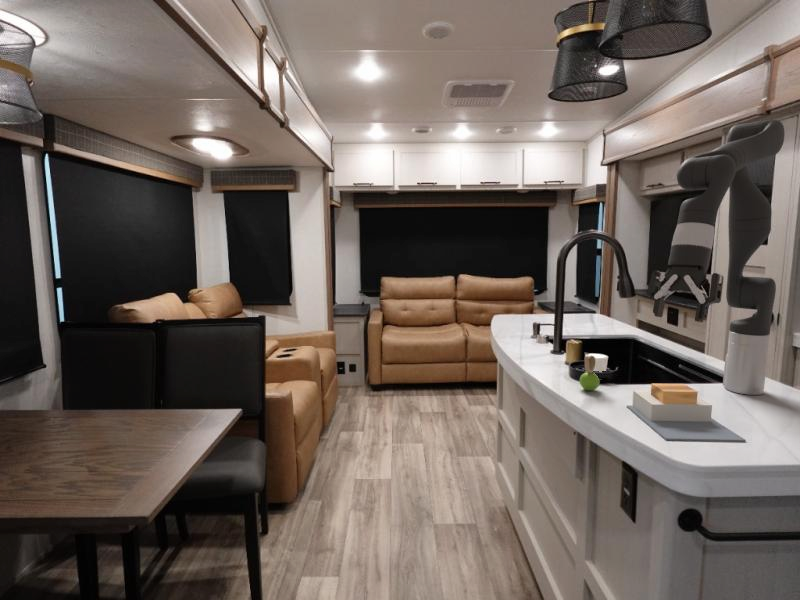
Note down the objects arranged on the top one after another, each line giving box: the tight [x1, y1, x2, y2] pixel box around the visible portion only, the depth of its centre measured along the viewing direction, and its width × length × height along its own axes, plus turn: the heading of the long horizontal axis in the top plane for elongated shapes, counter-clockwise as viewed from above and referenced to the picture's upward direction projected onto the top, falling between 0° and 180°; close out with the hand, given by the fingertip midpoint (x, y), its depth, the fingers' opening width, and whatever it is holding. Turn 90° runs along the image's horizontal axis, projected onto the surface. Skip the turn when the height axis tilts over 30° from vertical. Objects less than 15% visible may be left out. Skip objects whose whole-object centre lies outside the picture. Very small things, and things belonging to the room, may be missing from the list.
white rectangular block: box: [632, 390, 713, 422], centre depth 114 cm, size 10×14×4 cm
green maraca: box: [579, 352, 601, 392], centre depth 132 cm, size 5×6×12 cm
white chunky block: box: [584, 352, 609, 372], centre depth 146 cm, size 7×7×7 cm
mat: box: [626, 405, 747, 443], centre depth 109 cm, size 20×17×1 cm
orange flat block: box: [650, 383, 699, 404], centre depth 112 cm, size 6×8×3 cm
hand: (677, 319), depth 99 cm, fingers open, 8 cm apart
